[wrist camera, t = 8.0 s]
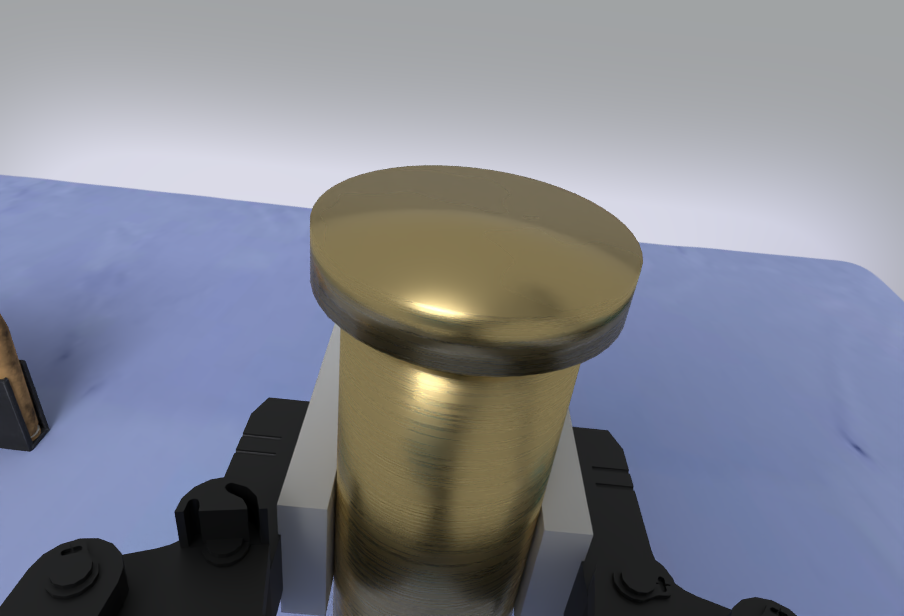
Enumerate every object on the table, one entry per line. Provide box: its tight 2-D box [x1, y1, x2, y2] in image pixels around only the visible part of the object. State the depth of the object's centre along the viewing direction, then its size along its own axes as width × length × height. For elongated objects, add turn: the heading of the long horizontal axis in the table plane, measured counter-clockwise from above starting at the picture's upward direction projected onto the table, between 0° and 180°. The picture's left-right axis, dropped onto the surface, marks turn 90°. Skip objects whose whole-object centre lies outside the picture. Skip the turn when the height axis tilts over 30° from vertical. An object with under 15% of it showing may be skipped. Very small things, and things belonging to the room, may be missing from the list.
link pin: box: [310, 165, 643, 616], centre depth 12 cm, size 4×4×13 cm
